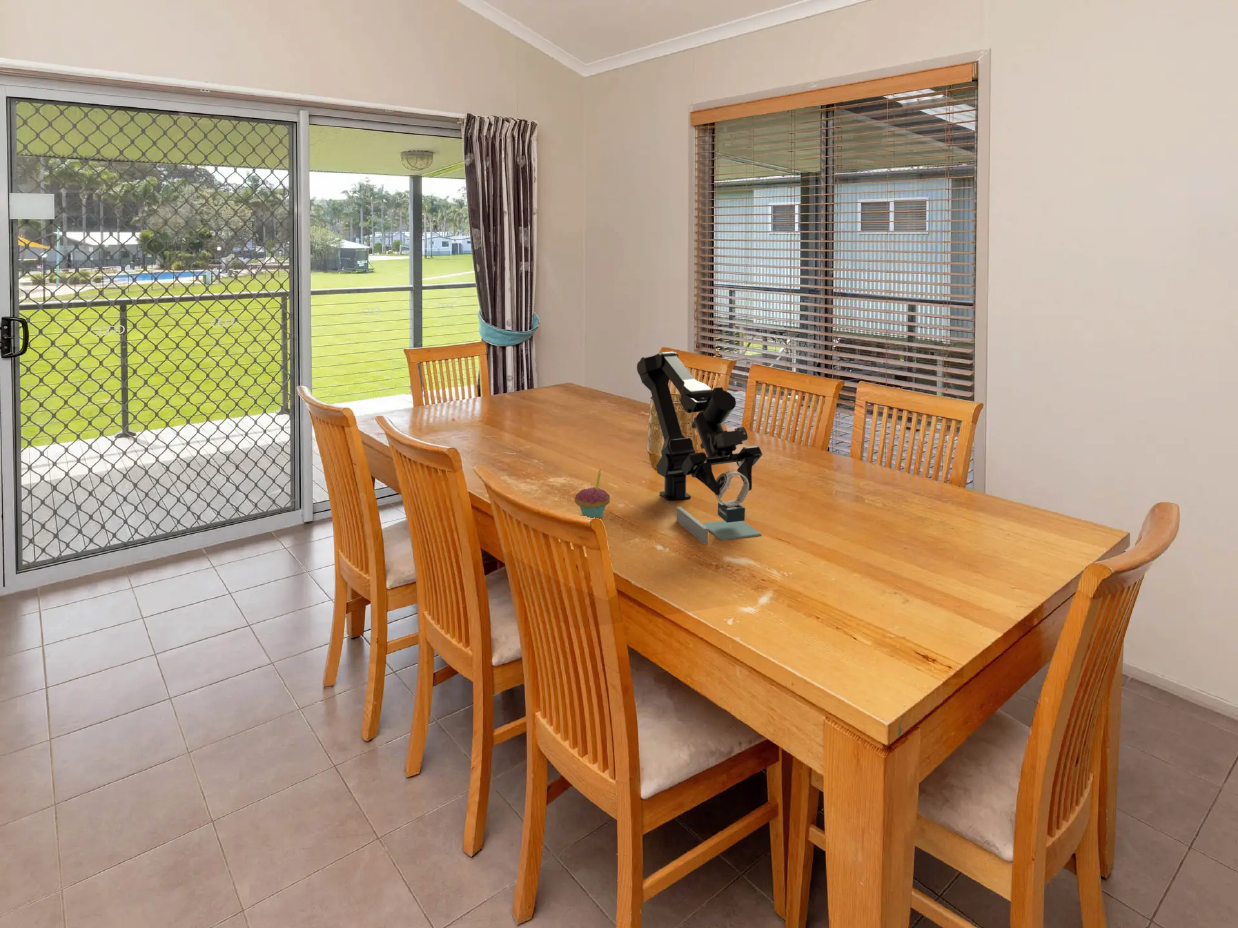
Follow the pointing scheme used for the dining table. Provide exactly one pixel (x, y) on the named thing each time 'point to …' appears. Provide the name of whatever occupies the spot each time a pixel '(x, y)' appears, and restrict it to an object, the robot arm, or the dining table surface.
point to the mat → (731, 530)
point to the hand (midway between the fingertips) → (734, 492)
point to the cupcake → (592, 500)
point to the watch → (731, 509)
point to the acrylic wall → (692, 525)
